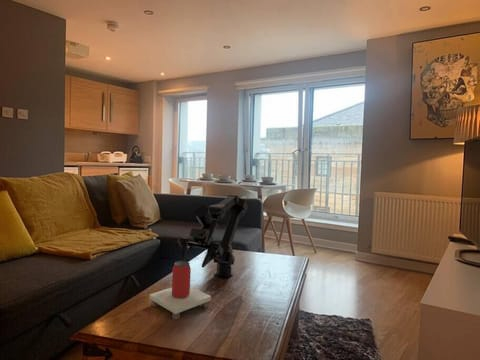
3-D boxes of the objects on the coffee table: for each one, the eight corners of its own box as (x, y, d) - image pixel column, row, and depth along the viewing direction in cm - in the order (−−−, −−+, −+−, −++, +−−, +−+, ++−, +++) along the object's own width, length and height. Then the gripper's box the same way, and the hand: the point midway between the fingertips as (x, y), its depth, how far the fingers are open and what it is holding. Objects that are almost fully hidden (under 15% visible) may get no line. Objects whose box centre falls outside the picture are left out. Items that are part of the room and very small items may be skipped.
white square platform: (149, 304, 121) (149, 294, 121) (184, 293, 133) (184, 283, 133) (175, 320, 111) (175, 309, 110) (210, 306, 122) (211, 296, 122)
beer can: (177, 300, 117) (179, 267, 116) (168, 294, 122) (169, 262, 121) (193, 295, 122) (194, 264, 121) (183, 290, 126) (184, 259, 126)
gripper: (180, 217, 135) (163, 250, 126) (221, 223, 128) (206, 258, 118) (190, 232, 143) (175, 264, 134) (229, 238, 135) (215, 273, 126)
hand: (192, 265), depth 128 cm, fingers open, 9 cm apart
